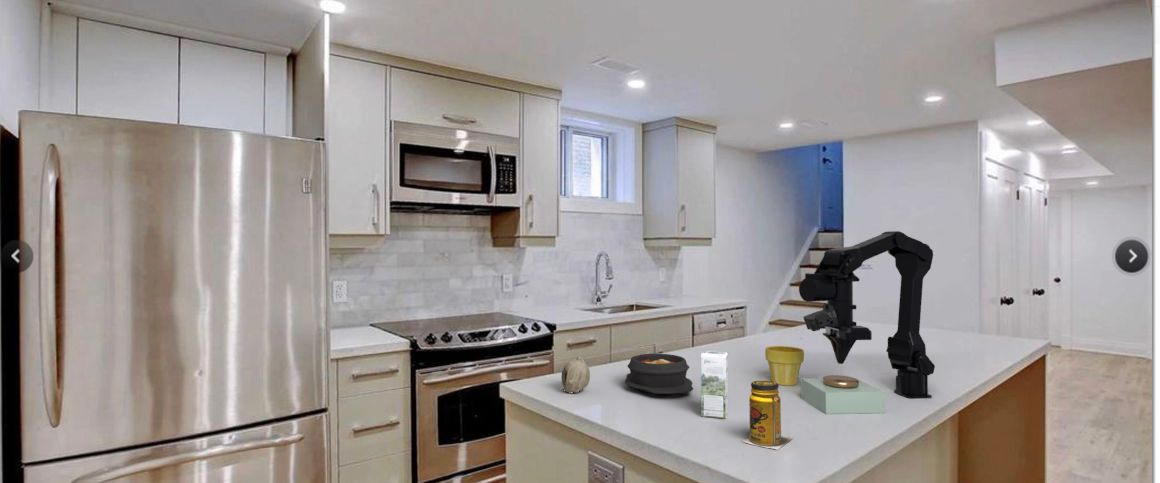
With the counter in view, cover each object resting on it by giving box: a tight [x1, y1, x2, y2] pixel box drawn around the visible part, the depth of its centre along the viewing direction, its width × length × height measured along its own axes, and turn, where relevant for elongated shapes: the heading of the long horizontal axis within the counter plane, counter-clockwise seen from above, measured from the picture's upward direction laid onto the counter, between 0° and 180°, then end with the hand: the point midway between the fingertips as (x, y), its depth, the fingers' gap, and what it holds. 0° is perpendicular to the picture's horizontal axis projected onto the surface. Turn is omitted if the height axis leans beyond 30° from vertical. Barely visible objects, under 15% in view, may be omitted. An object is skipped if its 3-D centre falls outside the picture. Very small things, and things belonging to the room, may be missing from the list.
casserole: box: [624, 353, 694, 395], centre depth 160 cm, size 25×19×8 cm
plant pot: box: [765, 345, 805, 386], centre depth 165 cm, size 10×10×10 cm
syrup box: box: [700, 350, 729, 419], centre depth 135 cm, size 6×6×14 cm
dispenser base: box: [800, 377, 886, 415], centre depth 143 cm, size 14×14×5 cm
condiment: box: [742, 379, 793, 451], centre depth 118 cm, size 7×8×12 cm
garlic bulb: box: [561, 356, 591, 394], centre depth 158 cm, size 9×8×10 cm
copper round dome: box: [822, 374, 860, 388], centre depth 143 cm, size 8×8×5 cm
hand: (840, 363), depth 143 cm, fingers closed
